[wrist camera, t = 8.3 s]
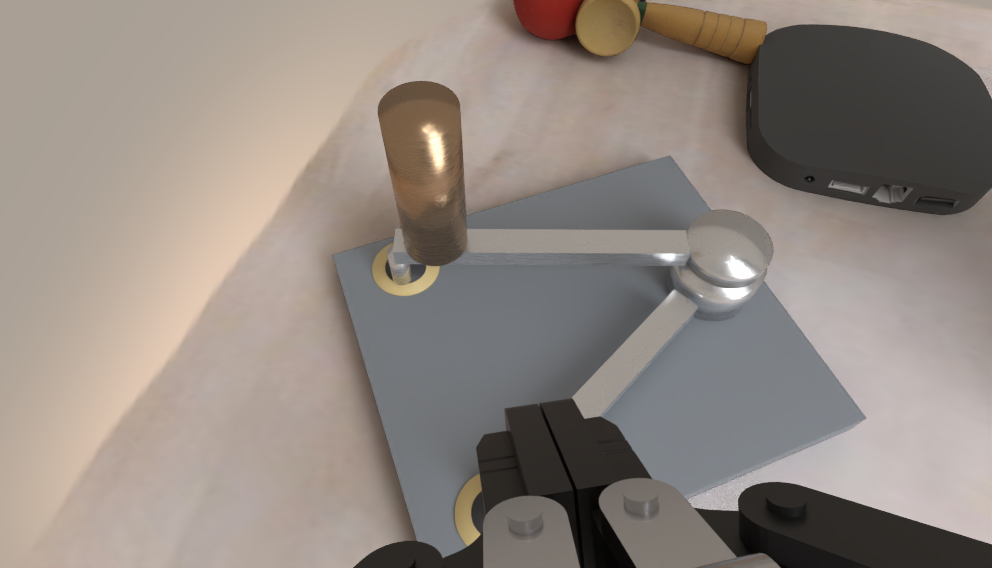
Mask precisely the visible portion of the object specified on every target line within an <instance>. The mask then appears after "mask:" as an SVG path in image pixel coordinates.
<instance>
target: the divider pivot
mask: <svg viewBox="0 0 992 568" xmlns="http://www.w3.org/2000/svg"><path fill="white" fill-rule="evenodd" d="M687 232H688V231H686V234H687ZM766 273H767V268H766V269H765V271H764V272H763V274H762V275H761V277H760V278H759V279H758V280H757V281H756V282H754V283H753V284H751V285H749V286H746V287H743V288H738V289H727V288H721V287H717V286H714V285H711V284H709V283H707V282H705V281H703V280H702V279H700V278H699V277H698V276H696V275H695V274H694V273H693V272H692V271H691V270H690V268H689V267H688V265H687V264H686V265H685V266H668V268H667V270H666V273H665V287H666V290H667V293H668V295H669V296H668V297H667V298H666V299H665V300H664V301H663V302H662V303H661V304H660V305H659V306H658V307H657V308H656V309H655V310H654V311H653V313H652V314H651V315H650V316H649V317H648V318H647V319H646V320H645V321H644V322H643V323H642V324H641V325H640V326H639V327H638V328H637V329H636V330H635V331H634V333H633V334H632V335H631V336H630V337H629V338H628V339H627V340H626V341H625V342H624V343H623V344H622V345H621V346H620V347H619V348H618V349H617V350H616V351H615V353H614V354H613V355H612V356H611V357H610V358H609V359H608V360H607V361H606V362H605V363H604V364H603V365H602V366H601V367H600V368H599V369H598V370H597V371H596V373H595V374H594V375H593V376H592V377H591V378H590V379H589V380H588V381H587V382H586V383H585V384H584V385H583V386H582V387H581V388H580V389H579V390H578V391H577V393H576V394H575V395H574V396H573V397H572V398H573V400H574V401H575V403H576V405H577V407H578V408H579V410H580V412H581V414H582V415H583V417H584V419H586V418H592V417H599V416H601V417H603V416H604V415H605V414H606V413H607V412H608V410H609V409H610V408H611V407H612V406H613V405H614V404H615V403H616V402H617V401H618V399H619V398H620V397H621V396H622V395H623V394H624V393H625V392H626V391H627V389H628V388H629V387H630V386H631V385H632V384H633V383H634V382H635V381H636V380H637V378H638V377H639V376H640V375H641V374H642V373H643V372H644V371H645V370H646V368H647V367H648V366H649V365H650V364H651V363H652V362H653V361H654V360H655V358H656V357H657V356H658V355H659V354H660V353H661V352H662V351H663V350H664V349H665V347H666V346H667V345H668V344H669V343H670V342H671V341H672V340H673V339H674V337H675V336H676V335H677V334H678V333H679V332H680V331H681V330H682V329H683V327H684V326H685V325H686V324H687V323H688V322H689V321H690V320H691V319H692V318H693V317H695V318H697V319H700V320H704V321H712V322H717V321H725V320H728V319H731V318H733V317H735V316H737V315H738V314H739V313H741V312H742V311H743V309H744V308H745V307H746V305H747V304H748V302H749V301H750V299H751V298H752V297H753V295H754V294H755V292H756V291H757V289H758V288H759V286H760V285H761V283H762V282H763V280H764V278H765V276H766Z"/></svg>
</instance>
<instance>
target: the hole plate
mask: <svg viewBox="0 0 992 568" xmlns="http://www.w3.org/2000/svg"><path fill="white" fill-rule="evenodd" d="M708 211H711V209H710V208H709V207H708V205H707V204H706V203H705V201H704V200H703V199H702V197H701V196H700V195H699V193H698V192H697V191H696V189H695V188H694V187H693V185H692V184H691V183H690V181H689V180H688V179H687V177H686V176H685V175H684V173H683V172H682V171H681V169H680V168H679V167H678V165H677V164H676V162H675V161H674V160H673V158H672V157H671V156H666V157H663V158H660V159H656V160H653V161H649V162H646V163H643V164H639V165H636V166H632V167H629V168H626V169H622V170H619V171H616V172H612V173H609V174H605V175H602V176H599V177H595V178H592V179H588V180H585V181H582V182H578V183H575V184H571V185H568V186H565V187H561V188H558V189H555V190H551V191H548V192H544V193H541V194H538V195H534V196H531V197H527V198H524V199H521V200H517V201H514V202H510V203H507V204H504V205H500V206H497V207H493V208H490V209H487V210H483V211H480V212H477V213H473V214H470V215H466V220H467V229H569V230H686V231H688V229H689V227H690V225H691V223H692V222H693V221H694V220H695V219H696V218H697V217H698V216H700V215H701V214H703V213H706V212H708ZM392 245H394V237H392V238H388V239H385V240H382V241H378V242H375V243H371V244H368V245H365V246H361V247H358V248H355V249H351V250H348V251H344V252H341V253H338V254H334V255H333V259H334V262H335V265H336V269H337V272H338V276H339V279H340V282H341V286H342V289H343V292H344V296H345V299H346V303H347V306H348V309H349V313H350V316H351V319H352V323H353V326H354V330H355V333H356V336H357V340H358V343H359V346H360V350H361V353H362V357H363V360H364V363H365V367H366V370H367V373H368V377H369V380H370V384H371V387H372V390H373V394H374V397H375V401H376V404H377V407H378V411H379V414H380V417H381V421H382V424H383V428H384V431H385V434H386V438H387V441H388V444H389V448H390V451H391V455H392V458H393V461H394V465H395V468H396V471H397V475H398V478H399V482H400V485H401V488H402V492H403V495H404V499H405V502H406V505H407V509H408V512H409V515H410V519H411V522H412V526H413V529H414V532H415V536H416V539H417V541H418V542H423V543H427V544H429V545H432V546H433V547H435V548H436V549H437V550H438V551H439V552H440V553H441V555H442V557H443V558H444V557H446V556H449V555H451V554H454V553H456V552H458V551H460V550H462V549H464V548H466V547H467V546H469V545H470V544H471V543H473V542H474V541H475V540H476V539H477V538H478V537H479V536H480V534H481V533H482V531H483V522H484V519H485V511H484V503H483V496H482V489H481V481H480V474H479V466H478V459H477V452H476V447H477V445H478V443H479V442H480V440H481V438H482V437H483V435H484V434H489V433H496V432H502V431H506V423H505V413H504V409H505V408H510V407H517V406H524V405H530V404H538V406H539V403H543V402H549V401H556V400H563V399H569V398H572V397H573V396H574V395H575V394H576V393H577V391H578V390H579V389H580V388H581V387H582V386H583V385H584V384H585V383H586V382H587V381H588V380H589V379H590V378H591V377H592V376H593V375H594V374H595V373H596V371H597V370H598V369H599V368H600V367H601V366H602V365H603V364H604V363H605V362H606V361H607V360H608V359H609V358H610V357H611V356H612V355H613V354H614V353H615V351H616V350H617V349H618V348H619V347H620V346H621V345H622V344H623V343H624V342H625V341H626V340H627V339H628V338H629V337H630V336H631V335H632V334H633V333H634V331H635V330H636V329H637V328H638V327H639V326H640V325H641V324H642V323H643V322H644V321H645V320H646V319H647V318H648V317H649V316H650V315H651V314H652V313H653V311H654V310H655V309H656V308H657V307H658V306H659V305H660V304H661V303H662V302H663V301H664V300H665V299H666V298H667V297H668V296H669V295H668V293H667V290H666V287H665V273H666V270H667V268H668V266H620V265H449V264H446V265H442V266H427V265H423V264H410V268H411V273H412V279H411V281H410V282H409V283H408V284H406V285H397V284H396V283H395V282H394V281H393V278H392V274H391V270H390V266H389V262H388V258H387V250H388V248H389V247H390V246H392ZM603 418H604V419H606V420H608V421H610V422H612V423H613V424H615V425H617V426H618V428H619V429H620V431H621V432H622V434H623V435H624V437H625V440H627V441H628V443H629V444H630V446H631V447H632V451H634V452H635V453H636V455H637V456H638V458H639V459H640V461H641V462H642V464H643V465H644V467H645V468H646V470H647V471H648V473H649V474H650V476H651V477H652V479H654V480H658V481H662V482H665V483H667V484H669V485H671V486H673V487H674V488H676V489H677V490H678V491H679V492H680V493H681V494H682V495H683V496H684V497H685V499H688V498H691V497H693V496H695V495H698V494H700V493H702V492H705V491H707V490H709V489H712V488H714V487H716V486H719V485H721V484H723V483H726V482H728V481H730V480H733V479H735V478H737V477H740V476H742V475H745V474H747V473H749V472H752V471H754V470H756V469H759V468H761V467H763V466H766V465H768V464H770V463H773V462H775V461H777V460H780V459H782V458H784V457H787V456H789V455H791V454H794V453H796V452H798V451H801V450H803V449H805V448H808V447H810V446H812V445H815V444H817V443H820V442H822V441H824V440H827V439H829V438H831V437H834V436H836V435H838V434H841V433H843V432H845V431H848V430H850V429H852V428H853V427H854V426H856V425H857V424H859V423H860V422H862V421H863V420H865V419H866V417H865V416H864V414H863V413H862V412H861V410H860V409H859V408H858V406H857V405H856V404H855V402H854V401H853V399H852V398H851V397H850V395H849V394H848V393H847V391H846V390H845V389H844V387H843V386H842V385H841V383H840V382H839V381H838V379H837V378H836V377H835V375H834V374H833V373H832V371H831V370H830V369H829V367H828V366H827V365H826V363H825V362H824V361H823V359H822V358H821V357H820V355H819V354H818V353H817V351H816V350H815V349H814V347H813V346H812V345H811V343H810V342H809V341H808V339H807V338H806V337H805V335H804V334H803V333H802V331H801V330H800V329H799V327H798V326H797V325H796V323H795V322H794V320H793V319H792V318H791V316H790V315H789V314H788V312H787V311H786V310H785V308H784V307H783V306H782V304H781V303H780V302H779V300H778V299H777V298H776V296H775V295H774V294H773V292H772V291H771V290H770V288H769V287H768V286H767V284H766V283H765V282H764V280H763V282H762V283H761V285H760V286H759V288H758V289H757V291H756V292H755V294H754V295H753V297H752V298H751V299H750V301H749V302H748V304H747V305H746V307H745V308H744V309H743V311H742V312H741V313H739V314H738V315H737V316H735V317H733V318H731V319H728V320H725V321H717V322H712V321H704V320H700V319H697V318H695V317H693V318H692V319H691V320H690V321H689V322H688V323H687V324H686V325H685V326H684V327H683V329H682V330H681V331H680V332H679V333H678V334H677V335H676V336H675V337H674V339H673V340H672V341H671V342H670V343H669V344H668V345H667V346H666V347H665V349H664V350H663V351H662V352H661V353H660V354H659V355H658V356H657V357H656V358H655V360H654V361H653V362H652V363H651V364H650V365H649V366H648V367H647V368H646V370H645V371H644V372H643V373H642V374H641V375H640V376H639V377H638V378H637V380H636V381H635V382H634V383H633V384H632V385H631V386H630V387H629V388H628V389H627V391H626V392H625V393H624V394H623V395H622V396H621V397H620V398H619V399H618V401H617V402H616V403H615V404H614V405H613V406H612V407H611V408H610V409H609V410H608V412H607V413H606V414H605V415H604V416H603Z"/></svg>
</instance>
